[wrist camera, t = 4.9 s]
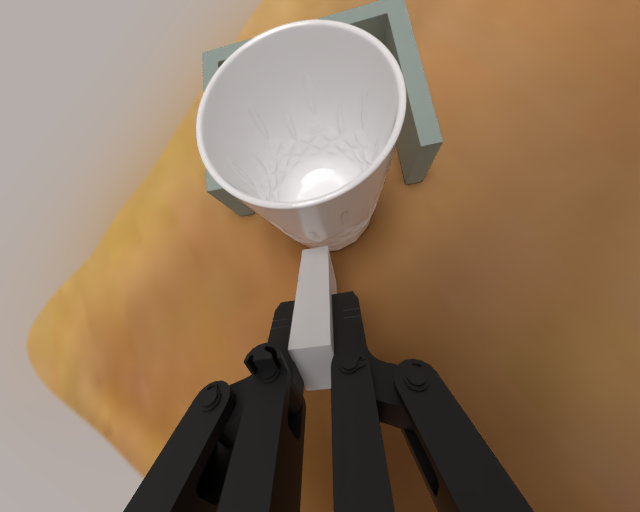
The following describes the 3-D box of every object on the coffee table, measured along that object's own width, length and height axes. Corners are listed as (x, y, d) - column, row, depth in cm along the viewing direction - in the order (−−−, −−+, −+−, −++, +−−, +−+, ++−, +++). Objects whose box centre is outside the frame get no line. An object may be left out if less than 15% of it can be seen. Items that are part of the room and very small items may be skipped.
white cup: (271, 179, 20) (185, 60, 10) (364, 151, 19) (370, -11, 9) (289, 271, 18) (207, 234, 8) (393, 244, 17) (439, 168, 7)
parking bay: (392, 61, 20) (402, -6, 15) (421, 181, 18) (443, 141, 13) (233, 102, 22) (202, 52, 17) (240, 216, 19) (206, 191, 15)
